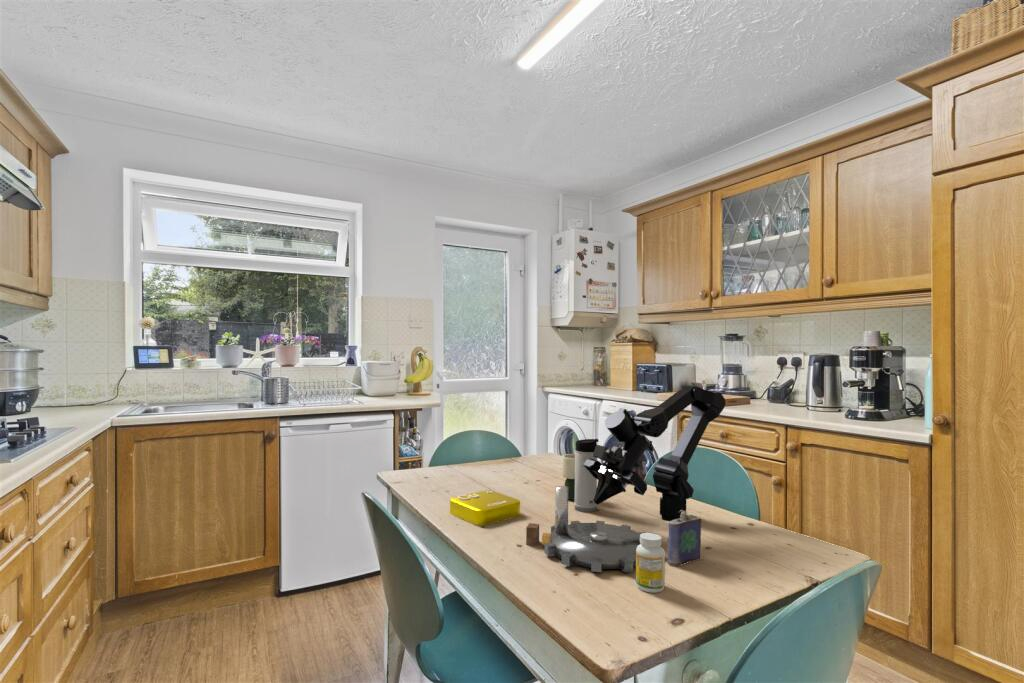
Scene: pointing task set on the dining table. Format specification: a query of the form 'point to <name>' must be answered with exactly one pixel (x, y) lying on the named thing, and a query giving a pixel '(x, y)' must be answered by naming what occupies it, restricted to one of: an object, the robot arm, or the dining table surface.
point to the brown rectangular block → (532, 534)
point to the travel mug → (584, 476)
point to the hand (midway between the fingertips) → (595, 503)
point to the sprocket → (589, 540)
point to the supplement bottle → (650, 563)
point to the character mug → (569, 473)
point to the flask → (684, 539)
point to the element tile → (484, 507)
